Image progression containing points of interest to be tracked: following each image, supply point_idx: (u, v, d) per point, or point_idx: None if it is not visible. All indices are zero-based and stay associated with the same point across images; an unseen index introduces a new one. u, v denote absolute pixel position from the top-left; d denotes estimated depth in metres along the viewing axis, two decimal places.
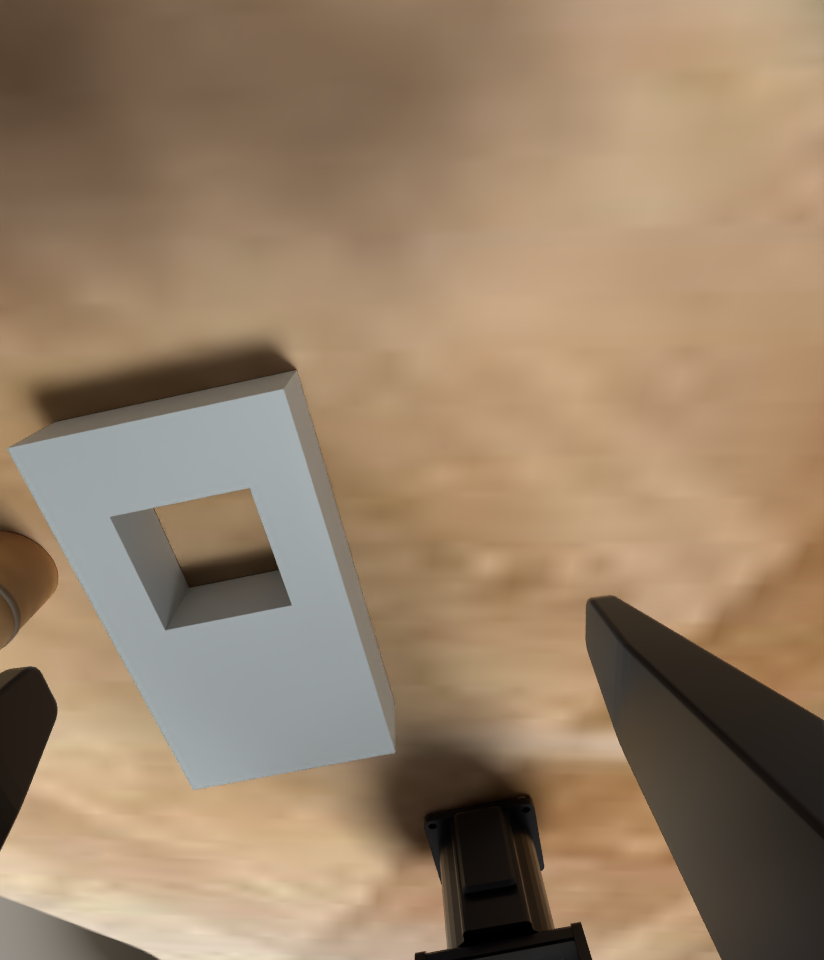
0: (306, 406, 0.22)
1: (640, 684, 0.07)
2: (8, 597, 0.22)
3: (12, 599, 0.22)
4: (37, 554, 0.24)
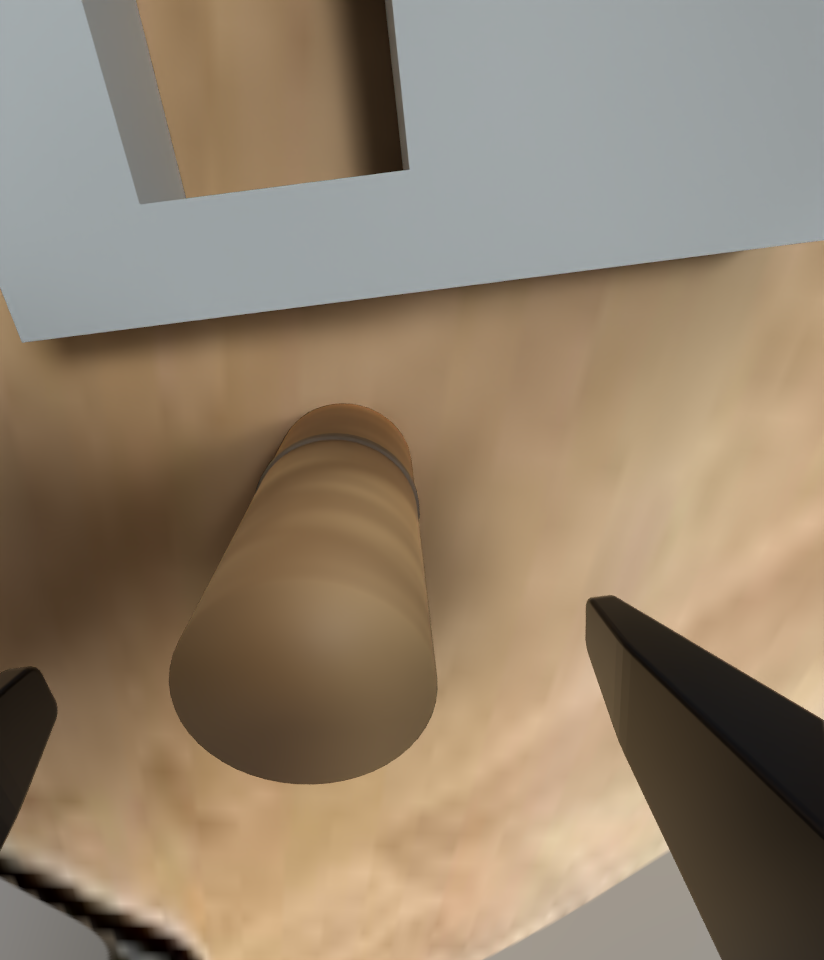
0: None
1: (640, 684, 0.07)
2: (314, 439, 0.13)
3: (320, 435, 0.13)
4: (309, 416, 0.15)
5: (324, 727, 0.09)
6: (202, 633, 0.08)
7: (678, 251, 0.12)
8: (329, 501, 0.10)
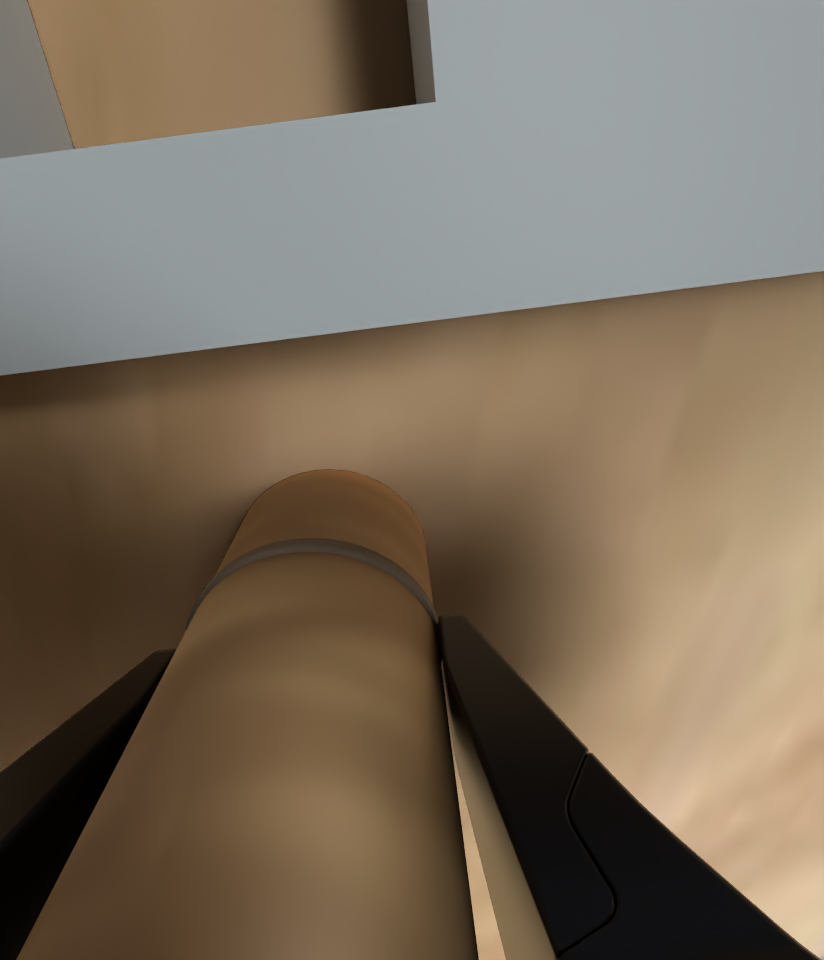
0: None
1: (454, 707, 0.07)
2: (278, 549, 0.08)
3: (287, 542, 0.08)
4: (279, 489, 0.11)
5: None
6: None
7: None
8: (281, 745, 0.05)
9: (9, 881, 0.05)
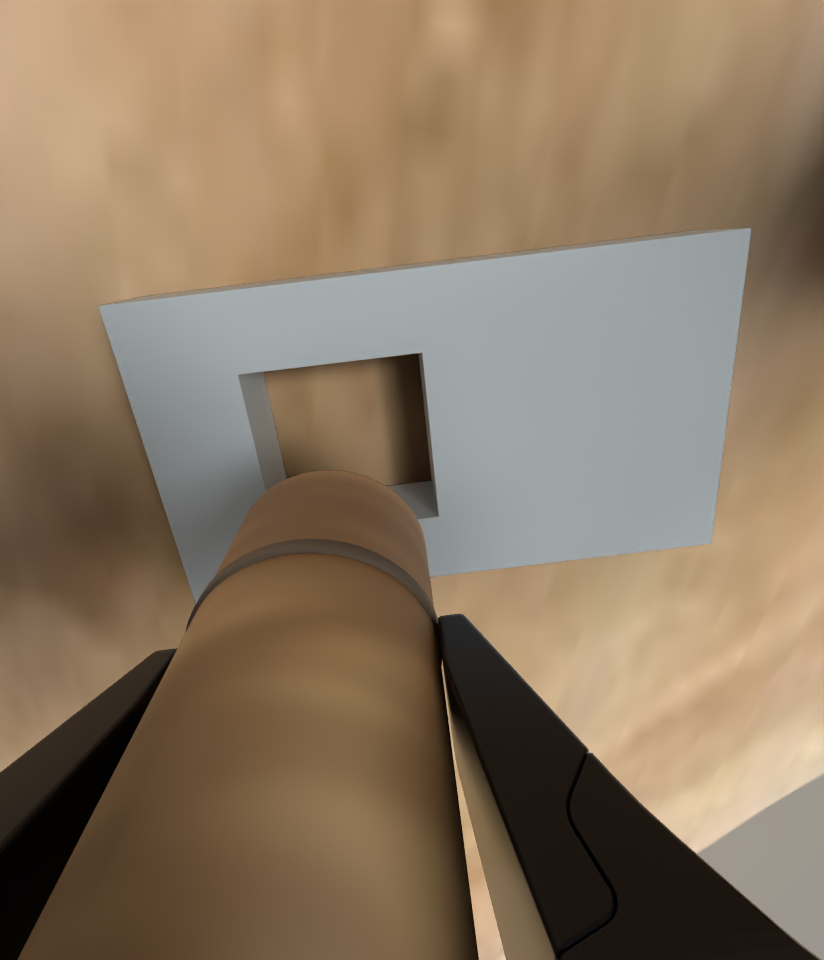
0: (185, 291, 0.17)
1: (454, 706, 0.07)
2: (278, 550, 0.08)
3: (287, 544, 0.08)
4: (279, 490, 0.11)
5: None
6: None
7: (602, 553, 0.19)
8: (283, 745, 0.05)
9: (9, 880, 0.05)
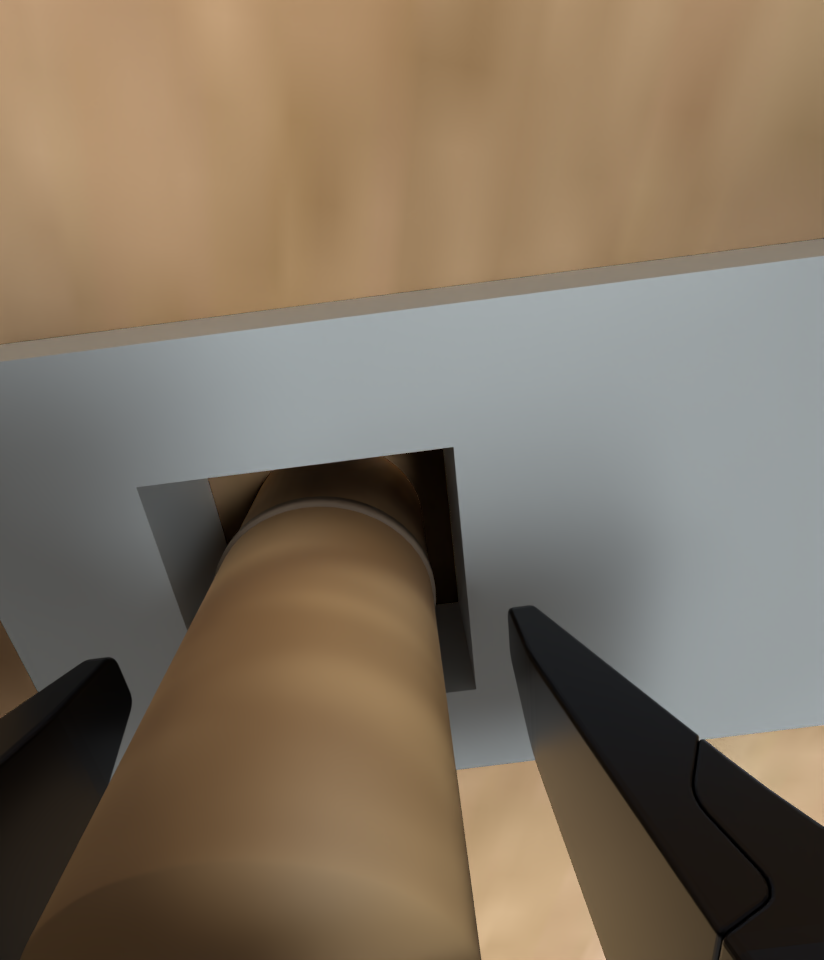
0: (67, 336, 0.11)
1: (541, 696, 0.07)
2: (294, 505, 0.10)
3: (302, 500, 0.10)
4: None
5: None
6: (66, 936, 0.04)
7: (728, 732, 0.12)
8: (306, 636, 0.06)
9: None
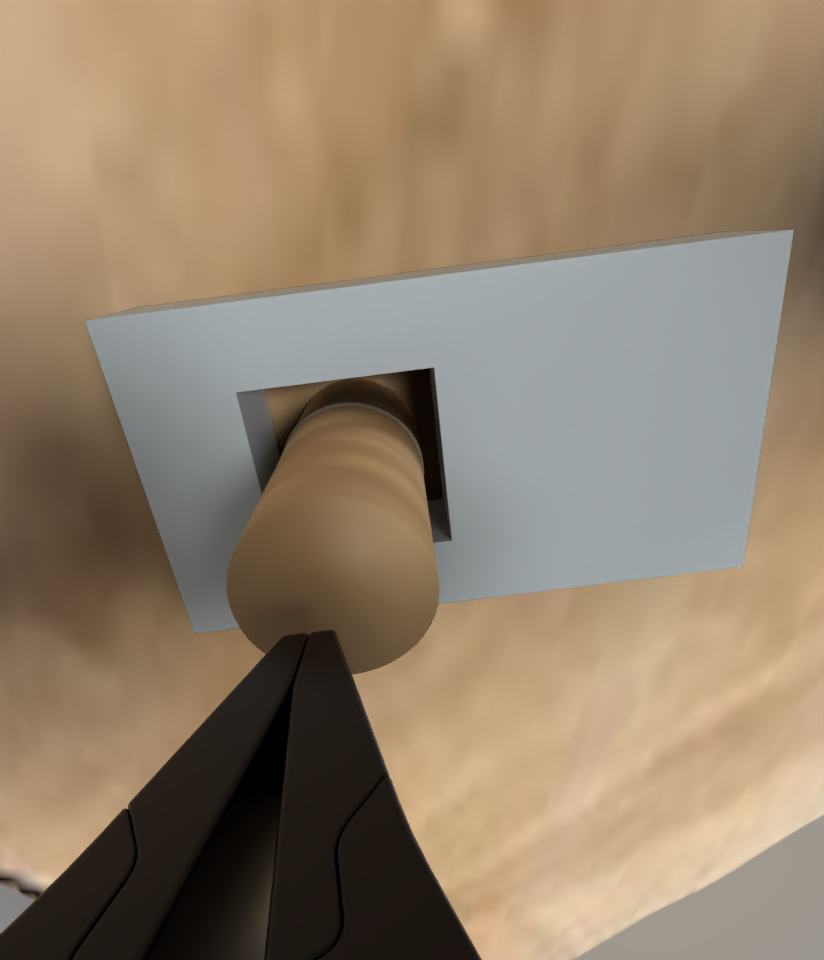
0: (180, 302, 0.16)
1: None
2: (334, 406, 0.15)
3: (339, 402, 0.15)
4: (327, 389, 0.17)
5: (348, 624, 0.11)
6: (254, 542, 0.10)
7: (626, 577, 0.18)
8: (350, 449, 0.12)
9: (213, 856, 0.05)
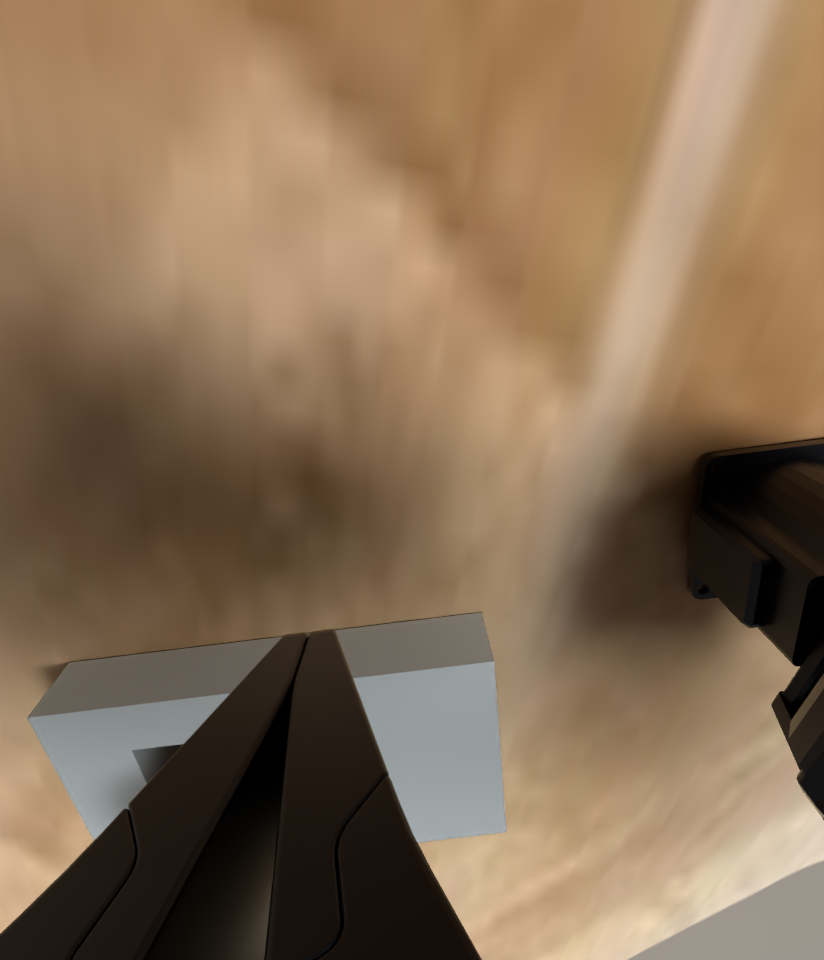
0: (100, 661, 0.23)
1: None
2: None
3: None
4: None
5: None
6: None
7: (423, 840, 0.25)
8: None
9: (215, 855, 0.05)
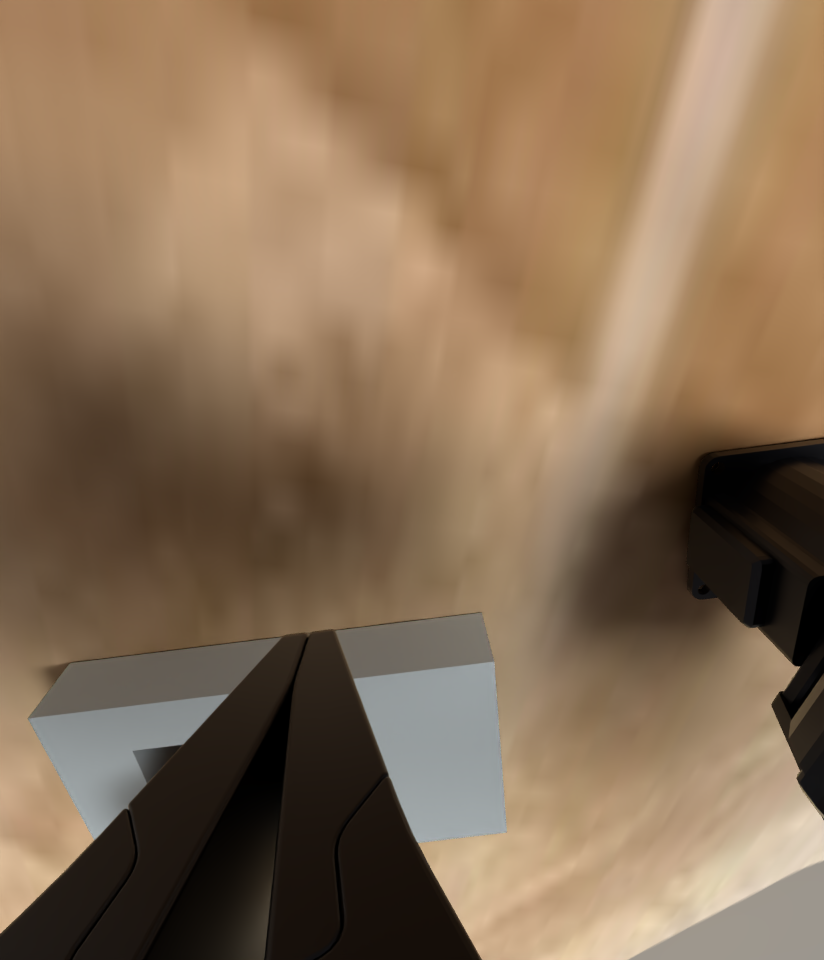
0: (100, 662, 0.23)
1: None
2: None
3: None
4: None
5: None
6: None
7: (423, 840, 0.25)
8: None
9: (215, 855, 0.05)
